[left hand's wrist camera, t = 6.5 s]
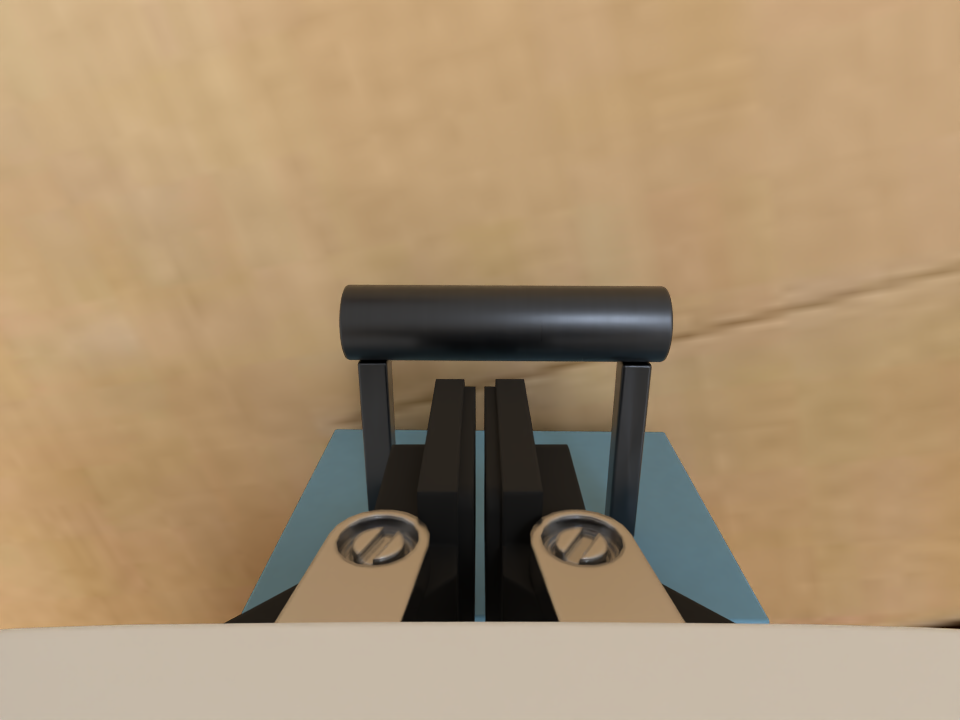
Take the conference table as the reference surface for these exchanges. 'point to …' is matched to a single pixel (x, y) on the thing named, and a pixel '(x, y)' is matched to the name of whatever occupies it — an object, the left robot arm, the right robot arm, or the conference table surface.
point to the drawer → (596, 455)
